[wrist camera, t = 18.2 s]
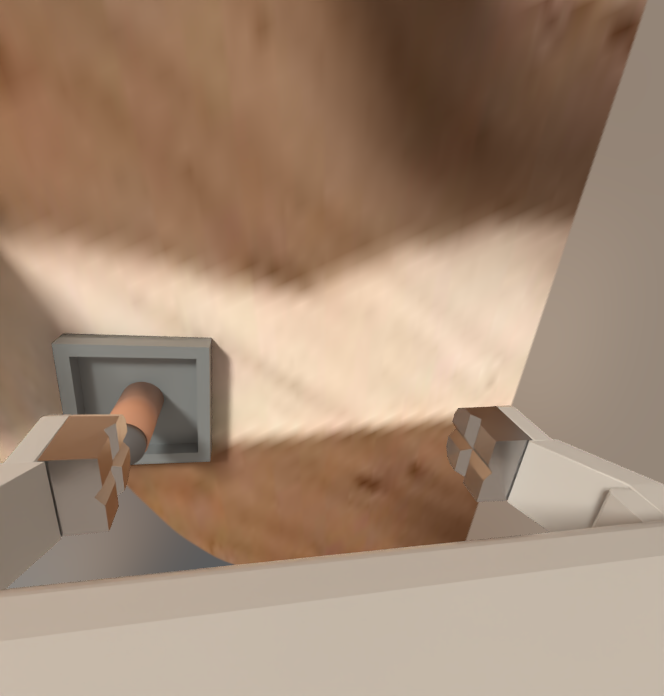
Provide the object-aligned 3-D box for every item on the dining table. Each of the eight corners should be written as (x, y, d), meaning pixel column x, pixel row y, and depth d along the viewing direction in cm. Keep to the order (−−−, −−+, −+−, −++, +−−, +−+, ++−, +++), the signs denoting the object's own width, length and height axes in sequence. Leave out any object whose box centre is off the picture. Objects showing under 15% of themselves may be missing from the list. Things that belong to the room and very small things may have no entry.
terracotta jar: (119, 381, 39) (90, 427, 32) (163, 382, 40) (145, 426, 32) (122, 416, 40) (96, 468, 33) (164, 416, 41) (148, 466, 34)
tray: (63, 333, 37) (51, 343, 35) (211, 338, 40) (209, 347, 38) (81, 451, 42) (71, 466, 39) (211, 447, 45) (210, 461, 42)
